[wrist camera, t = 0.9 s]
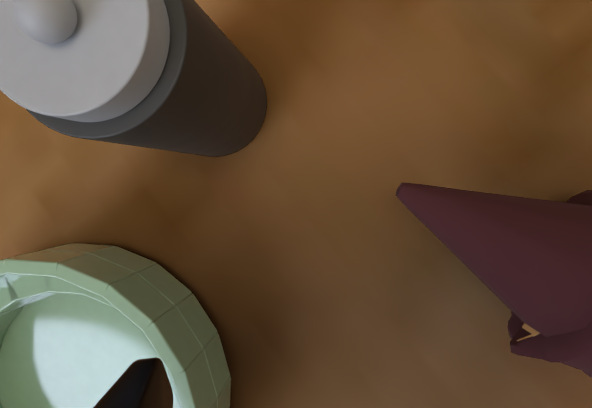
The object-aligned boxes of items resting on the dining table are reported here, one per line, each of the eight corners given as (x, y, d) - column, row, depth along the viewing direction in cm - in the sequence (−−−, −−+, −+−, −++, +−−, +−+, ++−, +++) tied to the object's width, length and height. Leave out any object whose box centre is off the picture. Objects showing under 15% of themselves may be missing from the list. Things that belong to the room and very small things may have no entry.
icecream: (349, 316, 15) (761, 512, 15) (471, 108, 12) (970, 346, 12) (355, 234, 21) (642, 371, 21) (435, 87, 19) (762, 244, 19)
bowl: (179, 556, 23) (132, 659, 18) (-57, 444, 24) (-161, 512, 20) (274, 305, 22) (251, 343, 17) (18, 201, 23) (-74, 208, 18)
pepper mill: (245, 171, 22) (99, 165, 9) (150, 135, 22) (-114, 81, 10) (282, 70, 21) (180, -85, 9) (184, 35, 22) (-49, -160, 9)
